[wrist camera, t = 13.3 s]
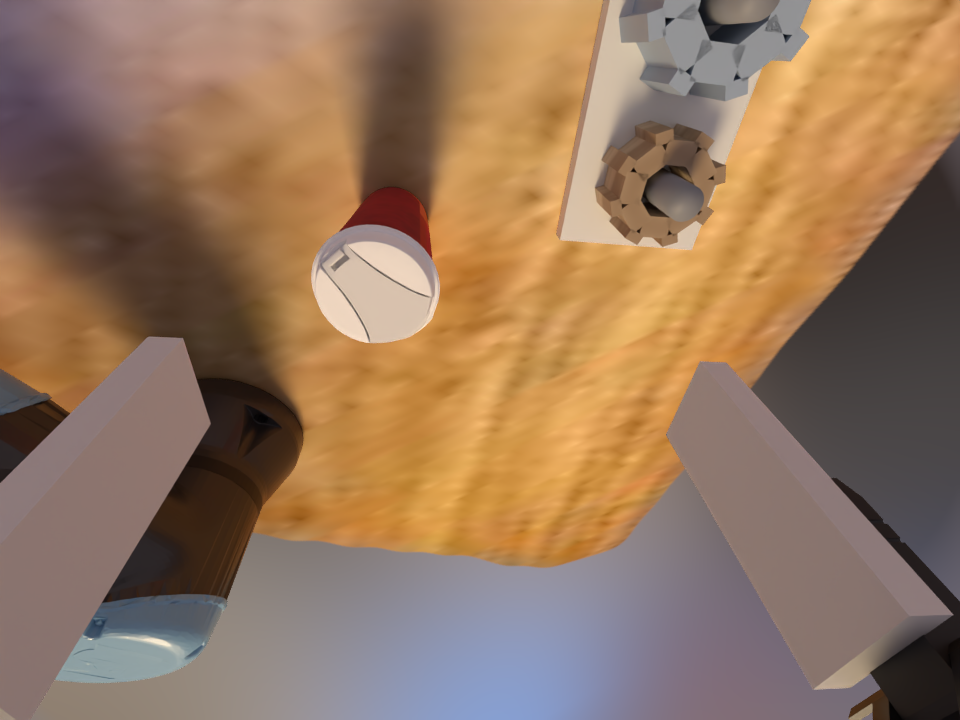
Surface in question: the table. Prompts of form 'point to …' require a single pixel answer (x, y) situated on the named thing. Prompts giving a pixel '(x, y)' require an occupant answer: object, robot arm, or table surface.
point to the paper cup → (379, 270)
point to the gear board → (628, 102)
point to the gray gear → (709, 46)
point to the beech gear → (643, 160)
